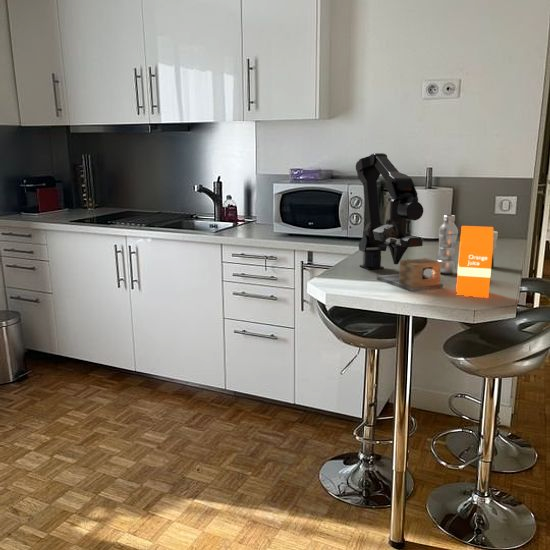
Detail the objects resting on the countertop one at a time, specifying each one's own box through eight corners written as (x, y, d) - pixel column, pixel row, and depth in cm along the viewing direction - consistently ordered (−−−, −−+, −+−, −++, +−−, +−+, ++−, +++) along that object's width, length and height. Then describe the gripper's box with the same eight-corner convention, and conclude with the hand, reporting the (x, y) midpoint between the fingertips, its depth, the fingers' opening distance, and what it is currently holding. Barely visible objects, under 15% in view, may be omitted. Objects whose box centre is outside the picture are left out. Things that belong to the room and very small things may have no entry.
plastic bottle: (450, 271, 193) (455, 214, 188) (457, 275, 186) (462, 216, 182) (432, 271, 193) (436, 214, 188) (439, 275, 186) (443, 216, 182)
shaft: (401, 276, 174) (402, 260, 172) (414, 274, 176) (415, 258, 175) (425, 284, 163) (426, 267, 162) (439, 282, 165) (440, 265, 164)
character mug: (500, 269, 196) (504, 233, 193) (481, 269, 195) (484, 233, 192) (487, 263, 206) (490, 229, 203) (468, 263, 206) (471, 229, 203)
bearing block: (376, 279, 180) (377, 255, 178) (406, 275, 185) (407, 252, 183) (411, 291, 164) (413, 265, 162) (442, 287, 169) (444, 262, 167)
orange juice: (455, 289, 167) (461, 224, 163) (486, 291, 165) (492, 225, 160) (456, 295, 160) (461, 227, 156) (488, 298, 157) (495, 228, 153)
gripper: (361, 214, 181) (359, 260, 185) (395, 221, 165) (393, 272, 168) (389, 213, 186) (386, 258, 189) (425, 219, 169) (422, 269, 173)
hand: (395, 264), depth 180 cm, fingers closed
